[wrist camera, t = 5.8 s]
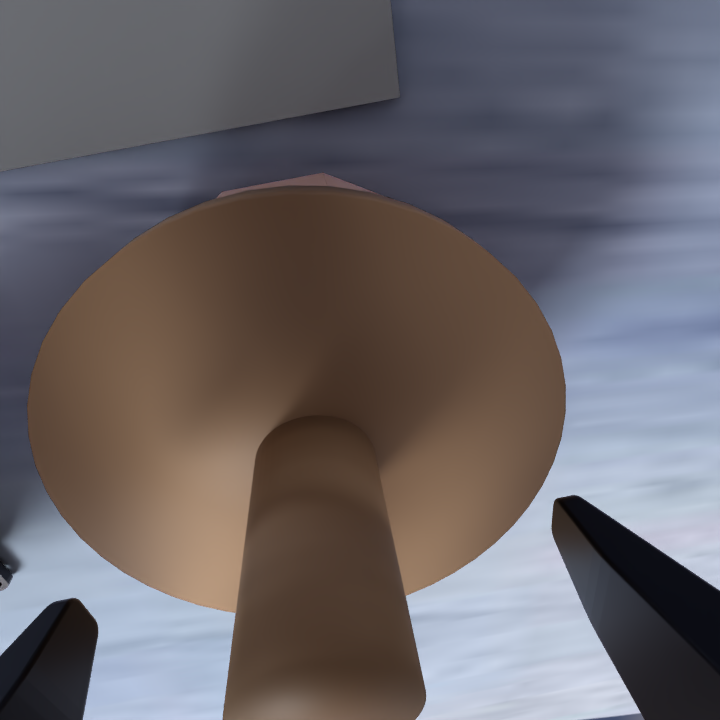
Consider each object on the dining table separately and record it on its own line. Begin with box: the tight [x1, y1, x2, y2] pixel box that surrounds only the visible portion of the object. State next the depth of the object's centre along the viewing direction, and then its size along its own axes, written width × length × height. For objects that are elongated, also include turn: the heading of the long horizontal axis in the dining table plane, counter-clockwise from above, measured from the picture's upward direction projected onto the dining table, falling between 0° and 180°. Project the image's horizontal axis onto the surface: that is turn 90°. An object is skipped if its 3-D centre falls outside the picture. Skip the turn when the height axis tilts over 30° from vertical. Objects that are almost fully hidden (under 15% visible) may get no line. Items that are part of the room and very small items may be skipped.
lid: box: [27, 185, 566, 720], centre depth 9 cm, size 12×12×6 cm
